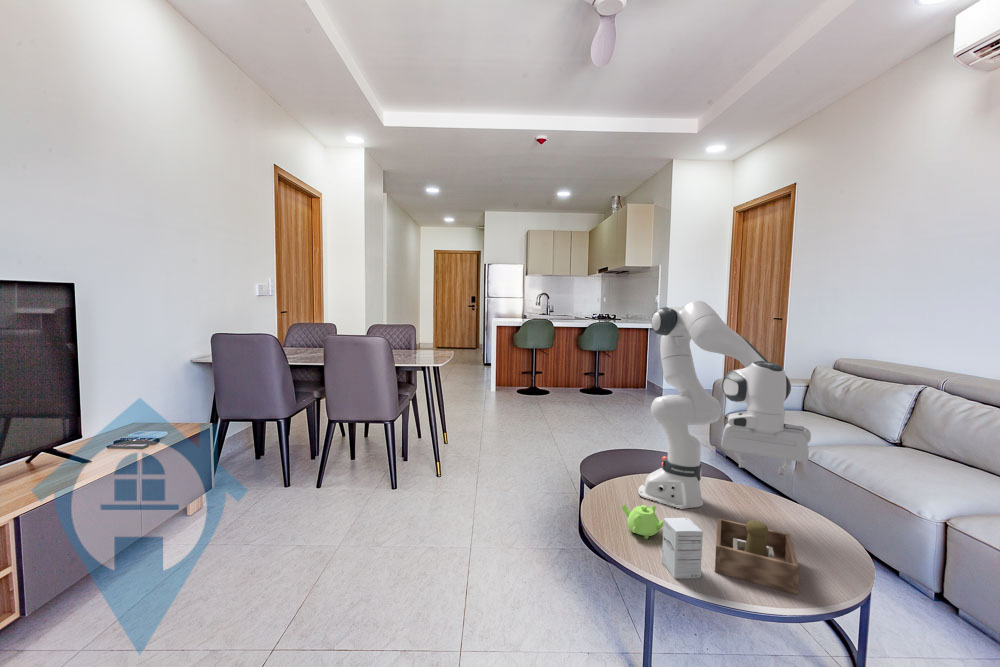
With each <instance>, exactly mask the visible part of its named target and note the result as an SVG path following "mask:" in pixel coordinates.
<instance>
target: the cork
mask: <svg viewBox="0 0 1000 667" xmlns="http://www.w3.org/2000/svg"><path fill="white" fill-rule="evenodd" d="M745 524H746V530H747V532H748V536H747V540H746V545H745V550H744V551H745V552H749V553H753V554H757V555H761V556H765V557H768V555H767V546H766V537H767V535H768V529H769V527H768V526H767V525H766V524H765V523H764V522H762V521H759V520H755V519H754V520H748V521H747V522H746V523H745Z"/></svg>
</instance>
